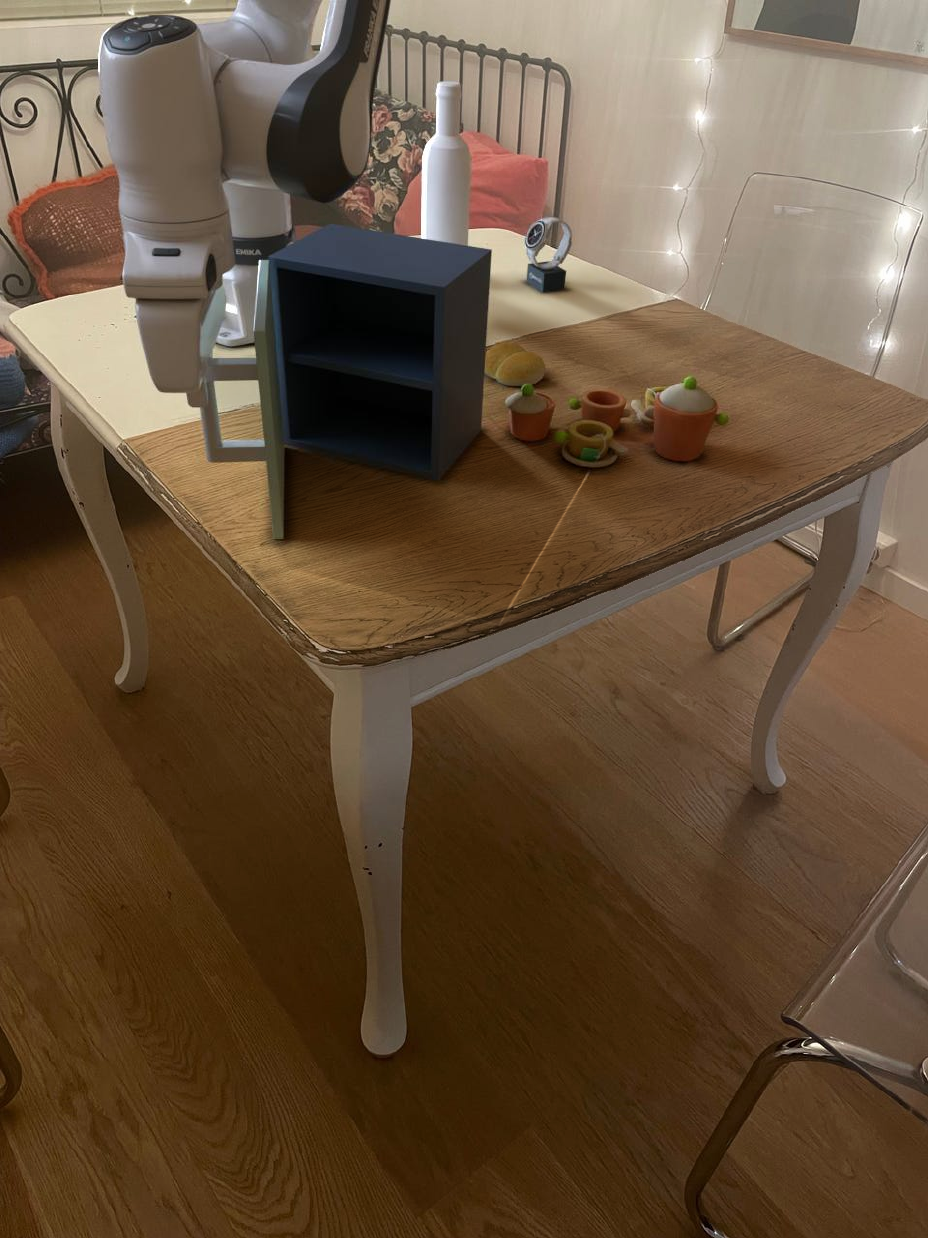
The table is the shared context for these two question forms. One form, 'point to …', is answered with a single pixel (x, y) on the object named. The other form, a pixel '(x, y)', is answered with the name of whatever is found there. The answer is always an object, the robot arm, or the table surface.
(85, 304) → the table surface
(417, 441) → the cupboard
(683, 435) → the toy tea set
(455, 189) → the bottle
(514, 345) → the bread roll
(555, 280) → the watch
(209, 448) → the cupboard door
